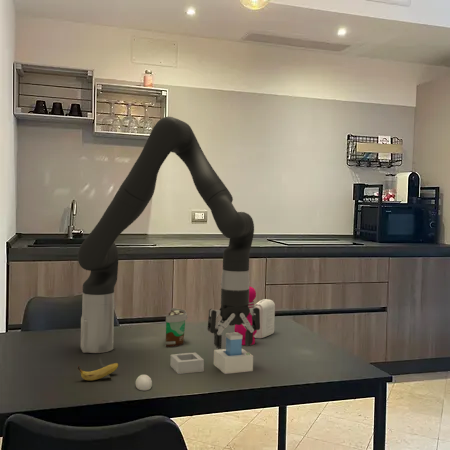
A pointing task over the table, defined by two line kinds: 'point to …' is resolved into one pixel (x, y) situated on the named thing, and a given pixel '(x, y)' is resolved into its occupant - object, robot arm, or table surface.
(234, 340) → the plug
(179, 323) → the food container
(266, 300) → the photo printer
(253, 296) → the pepper mill
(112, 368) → the banana
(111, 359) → the table surface
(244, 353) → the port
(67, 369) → the table surface
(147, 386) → the egg
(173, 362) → the box
